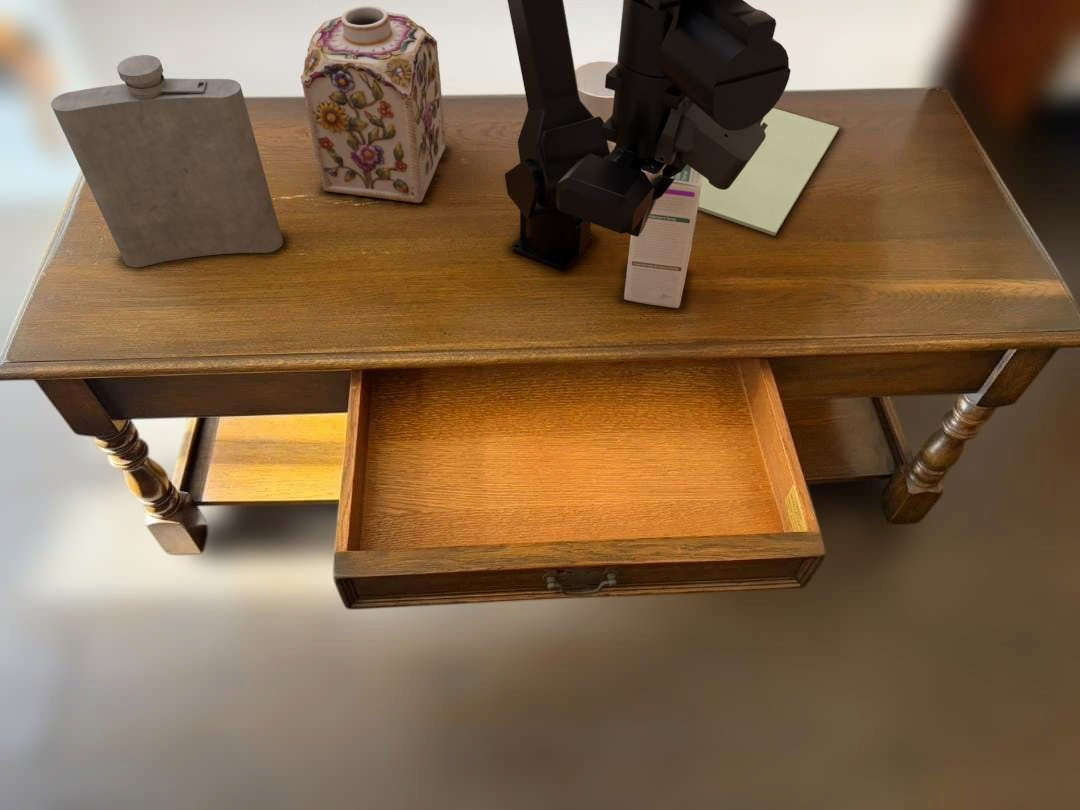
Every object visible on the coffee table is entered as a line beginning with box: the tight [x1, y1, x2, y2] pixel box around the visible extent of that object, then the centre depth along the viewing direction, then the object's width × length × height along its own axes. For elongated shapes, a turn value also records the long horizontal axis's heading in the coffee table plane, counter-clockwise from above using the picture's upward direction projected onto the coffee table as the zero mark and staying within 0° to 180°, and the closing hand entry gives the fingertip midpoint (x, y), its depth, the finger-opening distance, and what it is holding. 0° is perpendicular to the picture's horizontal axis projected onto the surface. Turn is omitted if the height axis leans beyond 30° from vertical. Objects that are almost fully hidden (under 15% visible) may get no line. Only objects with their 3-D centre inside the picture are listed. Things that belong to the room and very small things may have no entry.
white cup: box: [574, 59, 617, 153], centre depth 95 cm, size 8×8×10 cm
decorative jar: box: [300, 5, 446, 204], centre depth 89 cm, size 12×12×18 cm
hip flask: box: [50, 54, 284, 268], centre depth 79 cm, size 16×4×20 cm, turn 102°
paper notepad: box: [698, 107, 840, 237], centre depth 98 cm, size 12×24×1 cm, turn 151°
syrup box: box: [623, 165, 703, 309], centre depth 79 cm, size 6×6×14 cm
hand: (634, 233), depth 71 cm, fingers closed
